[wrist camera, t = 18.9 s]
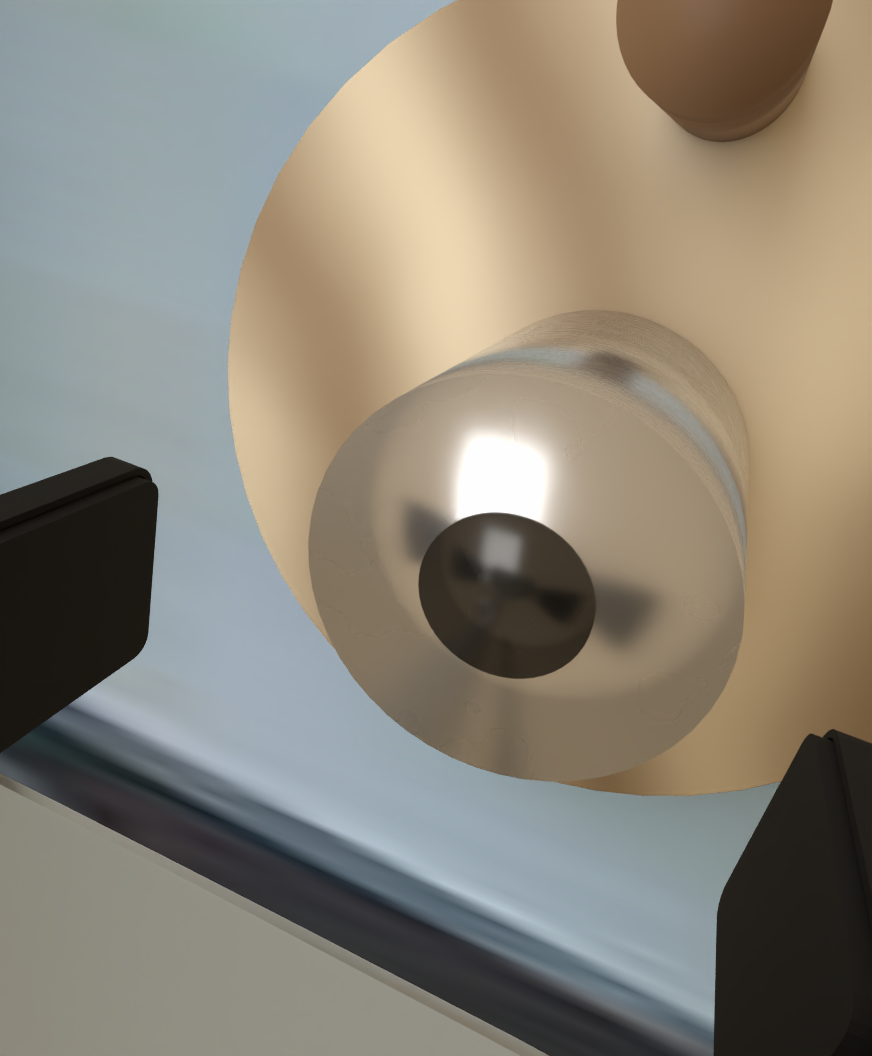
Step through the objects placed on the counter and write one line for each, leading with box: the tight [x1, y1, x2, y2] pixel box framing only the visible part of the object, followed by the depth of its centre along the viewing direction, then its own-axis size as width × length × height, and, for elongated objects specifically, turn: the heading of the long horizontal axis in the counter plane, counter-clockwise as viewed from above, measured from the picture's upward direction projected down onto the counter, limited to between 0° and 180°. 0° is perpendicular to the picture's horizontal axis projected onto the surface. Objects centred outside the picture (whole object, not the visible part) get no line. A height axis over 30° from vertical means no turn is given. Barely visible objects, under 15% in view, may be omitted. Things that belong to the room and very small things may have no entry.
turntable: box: [228, 0, 872, 796], centre depth 15 cm, size 18×18×6 cm
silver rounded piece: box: [308, 310, 750, 781], centre depth 14 cm, size 6×6×7 cm
